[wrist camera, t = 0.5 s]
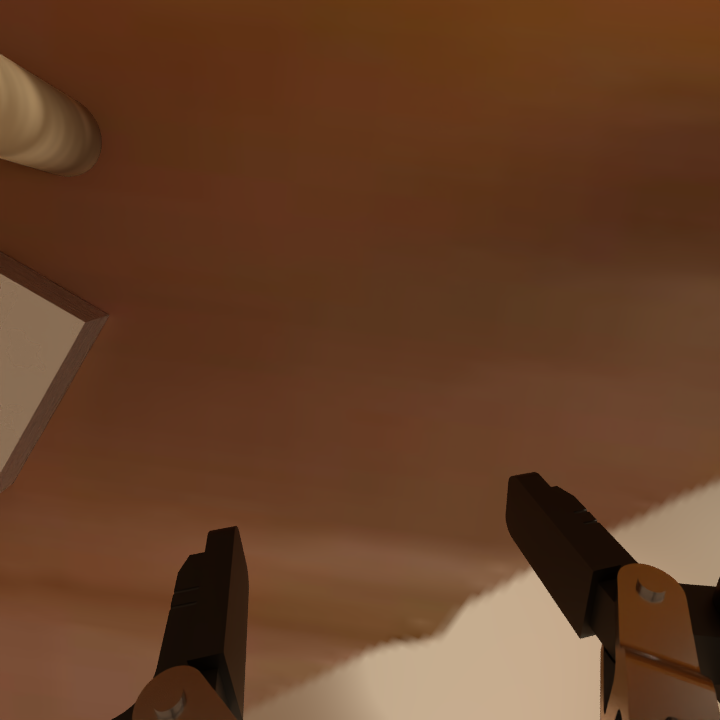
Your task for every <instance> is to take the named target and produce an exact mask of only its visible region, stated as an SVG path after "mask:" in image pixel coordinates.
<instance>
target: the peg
mask: <svg viewBox="0 0 720 720" xmlns="http://www.w3.org/2000/svg"><path fill="white" fill-rule="evenodd" d="M101 143H102V140H101V133H100V129H99V127H98V124H97V122H96V120H95V119H94V117H93V116H92V114H91V113H90V112H89V111H88V110H87V109H86V108H85V107H84V106H83V105H82V104H81V103H79V102H78V101H76V100H74V99H73V98H71V97H69V96H68V95H66V94H64V93H63V92H61V91H60V90H58V89H56V88H55V87H53V86H51V85H50V84H48V83H47V82H45V81H43V80H42V79H40V78H38V77H37V76H35V75H34V74H32V73H30V72H29V71H27V70H25V69H24V68H22V67H21V66H19V65H17V64H16V63H14V62H12V61H11V60H9V59H8V58H6V57H4V56H3V55H1V54H0V158H1V159H4V160H7V161H11V162H14V163H18V164H21V165H25V166H28V167H32V168H35V169H38V170H42V171H45V172H49V173H52V174H56V175H59V176H65V177H71V176H77V175H80V174H83V173H85V172H86V171H88V170H89V169H90V168H92V167H93V165H94V164H95V163H96V161H97V160H98V157H99V155H100V152H101Z"/></svg>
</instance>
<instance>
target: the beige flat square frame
mask: <svg viewBox="0 0 720 720" xmlns="http://www.w3.org/2000/svg"><path fill="white" fill-rule="evenodd" d="M108 316H109V315H108V314H106V313H104V312H103V311H101V310H99V309H98V308H96V307H94V306H92V305H91V304H89V303H87V302H86V301H84V300H82V299H81V298H79V297H77V296H75V295H74V294H72V293H70V292H69V291H67V290H65V289H63V288H62V287H60V286H58V285H57V284H55V283H53V282H51V281H50V280H48V279H46V278H45V277H43V276H41V275H40V274H38V273H36V272H34V271H33V270H31V269H29V268H28V267H26V266H24V265H22V264H21V263H19V262H17V261H16V260H14V259H12V258H11V257H9V256H7V255H5V254H4V253H2V252H0V493H1V492H2V491H3V490H5V489H6V488H7V487H9V486H10V485H11V484H13V483H14V481H15V479H16V477H17V476H18V474H19V472H20V470H21V469H22V467H23V465H24V463H25V462H26V460H27V458H28V456H29V455H30V453H31V451H32V449H33V448H34V446H35V444H36V442H37V441H38V439H39V437H40V435H41V434H42V432H43V430H44V428H45V427H46V425H47V423H48V421H49V420H50V418H51V416H52V414H53V413H54V411H55V409H56V407H57V406H58V404H59V402H60V400H61V399H62V397H63V395H64V393H65V392H66V390H67V388H68V386H69V385H70V383H71V381H72V379H73V378H74V376H75V374H76V372H77V371H78V369H79V367H80V365H81V364H82V362H83V360H84V358H85V357H86V355H87V353H88V351H89V350H90V348H91V346H92V344H93V343H94V341H95V339H96V337H97V336H98V334H99V332H100V330H101V329H102V327H103V325H104V323H105V322H106V320H107V318H108Z"/></svg>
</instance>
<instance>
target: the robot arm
mask: <svg viewBox="0 0 720 720" xmlns="http://www.w3.org/2000/svg"><path fill="white" fill-rule="evenodd" d="M506 523H507V527H508V530H509V533H510V535H511V537H512V538H513V540H514V541H515V543H516V544H517V546H518V547H519V549H520V550H521V552H522V553H523V555H524V556H525V558H526V559H527V561H528V562H529V564H530V565H531V567H532V568H533V570H534V571H535V573H536V574H537V575H538V577H539V578H540V580H541V581H542V583H543V584H544V586H545V587H546V589H547V590H548V592H549V593H550V595H551V596H552V598H553V599H554V601H555V602H556V604H557V605H558V607H559V608H560V610H561V611H562V613H563V614H564V616H565V617H566V618H567V620H568V621H569V623H570V624H571V626H572V627H573V629H574V630H575V632H576V633H577V635H578V636H579V638H584V637H589V636H593V635H596V636H597V637H598V638H599V640H600V641H601V643H602V647H601V663H600V664H601V666H600V668H601V669H600V677H601V678H600V679H601V680H600V720H720V712H719V707H718V703H717V700H718V702H719V703H720V578H719V580H718V583H717V586H716V587H712V586H701V585H689V584H680V583H678V582H677V581H676V580H675V579H673V578H672V577H671V576H670V575H668V574H666V573H665V572H663V571H662V570H660V569H657V568H655V567H653V566H650V565H646V564H639V563H637V562H636V561H635V560H634V559H633V557H631V555H630V554H629V553H628V552H627V551H626V550H625V549H624V548H623V547H622V546H621V545H620V544H619V543H618V542H617V541H616V540H615V539H614V538H613V536H612V535H611V534H610V533H609V532H608V531H607V530H606V529H605V528H604V527H603V526H602V525H601V524H600V523H597V520H596V519H595V518H594V517H593V515H592V514H591V513H590V512H587V510H586V508H585V507H584V506H583V505H582V504H581V503H580V502H579V501H578V500H577V499H576V498H575V497H574V496H573V495H571V494H570V493H568V492H566V491H565V490H563V489H561V488H559V487H558V486H554V487H550V486H549V485H548V483H547V482H546V481H545V480H544V479H543V478H542V477H541V476H540V475H539V474H538V473H536V472H532V473H526V474H521V475H515V476H511V477H510V478H509V482H508V493H507V505H506ZM248 596H249V581H248V571H247V565H246V560H245V556H244V551H243V547H242V543H241V538H240V534H239V530H238V527H237V526H234V527H228V528H223V529H218V530H212V531H209V533H208V536H207V542H206V548H205V552H204V553H198V554H193V555H190V556H189V557H188V559H187V560H186V562H185V563H184V565H183V566H182V568H181V569H180V571H179V572H178V576H177V580H176V585H175V589H174V595H173V598H172V602H171V610H170V611H169V616H168V620H167V625H166V629H165V633H164V638H163V642H162V647H161V651H160V656H159V660H158V665H157V669H156V672H155V675H154V677H153V679H152V680H151V681H150V682H149V683H148V684H147V685H146V686H145V688H144V689H143V690H142V692H141V693H140V695H139V697H138V699H137V701H136V703H135V704H134V705H132V706H131V707H130V708H129V709H128V710H126V711H125V712H124V713H122V714H120V715H119V716H117V717H116V718H114V719H112V720H243V706H244V684H245V662H246V640H247V618H248Z"/></svg>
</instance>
